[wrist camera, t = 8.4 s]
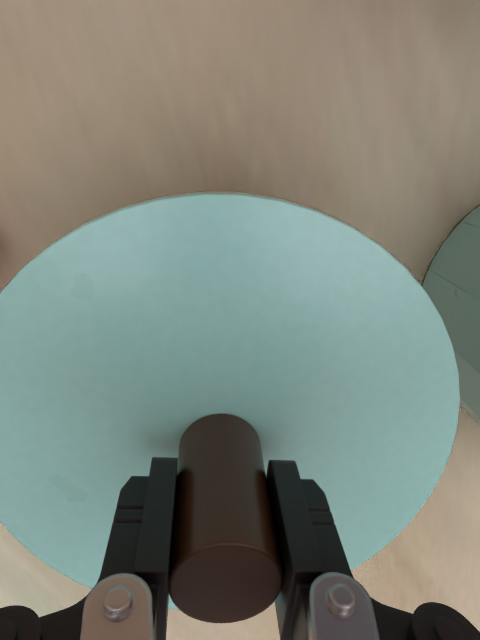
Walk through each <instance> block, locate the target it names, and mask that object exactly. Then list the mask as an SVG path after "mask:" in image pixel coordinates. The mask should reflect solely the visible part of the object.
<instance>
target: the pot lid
mask: <svg viewBox="0 0 480 640" xmlns="http://www.w3.org/2000/svg"><path fill="white" fill-rule="evenodd" d="M459 406H460V391H459V373H458V368H457V364H456V359H455V355H454V350H453V345H452V343H451V340H450V338H449V335H448V332H447V330H446V327H445V325H444V322H443V320H442V318H441V316H440V314H439V312H438V311H437V309H436V307H435V306H434V304H433V302H432V301H431V299H430V297H429V296H428V294H427V292H426V291H425V290H424V289H423V287H422V286H421V285H420V284H419V283H418V281H417V280H416V279H415V278H414V277H413V275H412V274H411V273H410V272H409V271H408V269H407V268H406V267H405V266H404V265H403V264H401V263H400V262H399V261H398V260H397V259H396V258H395V257H394V256H392V255H391V254H390V253H389V252H388V251H387V250H386V249H384V248H383V247H382V246H381V245H380V244H378V243H376V242H375V241H373V240H372V239H370V238H369V237H367V236H366V235H364V234H363V233H361V232H359V231H358V230H356V229H355V228H353V227H352V226H350V225H348V224H347V223H345V222H343V221H341V220H338V219H336V218H334V217H332V216H330V215H327V214H325V213H323V212H321V211H319V210H316V209H314V208H311V207H308V206H305V205H301V204H298V203H294V202H291V201H288V200H284V199H281V198H277V197H271V196H264V195H257V194H251V193H244V192H214V191H199V192H191V193H183V194H175V195H167V196H160V197H156V198H153V199H149V200H145V201H141V202H138V203H134V204H130V205H126V206H123V207H121V208H118V209H116V210H113V211H111V212H109V213H106V214H104V215H102V216H99V217H97V218H94V219H92V220H90V221H88V222H86V223H84V224H83V225H81V226H79V227H78V228H76V229H74V230H73V231H71V232H69V233H68V234H66V235H64V236H63V237H61V238H59V239H58V240H56V241H55V242H53V243H52V244H51V245H49V246H48V247H47V248H46V249H44V250H43V251H42V252H41V253H40V254H38V255H37V256H36V257H35V258H33V259H32V260H31V261H30V262H29V263H27V264H26V265H25V266H24V267H23V268H22V269H21V270H20V271H19V272H18V273H17V274H16V275H15V277H14V278H13V279H12V280H11V281H10V282H9V283H8V284H7V285H6V287H5V288H4V289H3V290H2V291H1V292H0V521H1V523H2V524H3V525H4V526H5V527H6V529H7V530H8V531H9V532H10V533H11V535H12V536H13V537H15V538H16V539H17V540H18V541H19V542H20V543H21V544H22V545H23V546H24V547H25V548H27V549H28V550H29V551H30V552H31V553H32V554H33V555H35V556H36V557H38V558H39V559H40V560H42V561H43V562H44V563H46V564H47V565H49V566H50V567H51V568H53V569H54V570H56V571H58V572H60V573H61V574H63V575H65V576H67V577H69V578H70V579H72V580H74V581H76V582H78V583H80V584H82V585H84V586H87V587H89V588H91V589H92V588H93V587H94V586H95V585H96V583H97V581H98V579H99V576H100V573H101V569H102V565H103V561H104V557H105V553H106V548H107V544H108V540H109V536H110V532H111V527H112V523H113V519H114V515H115V511H116V508H117V502H118V498H119V494H120V490H121V489H122V487H123V486H124V485H125V484H126V482H127V481H128V480H129V479H130V477H131V476H149V473H150V467H151V461H152V457H173V458H178V469H177V484H176V497H175V509H174V521H173V533H172V545H171V557H170V569H169V586H168V592H169V604H168V608H169V609H177V610H181V611H182V612H183V613H185V614H186V615H188V616H190V617H192V618H194V619H197V620H200V621H205V622H210V623H231V622H237V621H242V620H245V619H248V618H251V617H253V616H255V615H257V614H259V613H261V612H263V611H264V610H265V609H267V608H268V607H269V606H270V605H271V604H272V603H273V602H275V600H276V598H277V597H278V595H279V593H280V591H281V588H282V584H283V570H282V564H281V558H280V553H279V547H278V541H277V536H276V530H275V524H274V519H273V513H272V507H271V502H270V496H269V490H268V485H267V479H266V475H267V468H268V462H269V460H295V462H296V464H297V468H298V471H299V475H300V479H313V480H314V481H315V482H316V483H317V484H318V485H319V487H320V488H321V489H322V490H323V491H324V492H325V495H326V498H327V501H328V504H329V507H330V512H331V513H332V516H333V519H334V525H336V528H337V531H338V534H339V537H340V540H341V543H342V546H343V549H344V552H345V555H346V558H347V561H348V564H349V567H350V570H353V569H355V568H356V567H358V566H359V565H361V564H362V563H364V562H365V561H366V560H368V559H369V558H371V557H372V556H374V555H375V554H377V553H378V552H379V551H380V550H381V549H382V548H384V547H385V546H386V545H387V544H388V543H389V542H391V541H392V540H393V539H394V538H395V537H396V536H397V535H398V534H399V533H400V532H401V531H402V530H403V529H404V528H405V527H406V526H407V525H408V524H409V523H410V522H411V520H412V519H413V518H414V517H415V516H416V514H417V513H418V512H419V510H420V509H421V508H422V506H423V505H424V504H425V502H426V501H427V500H428V498H429V497H430V495H431V493H432V491H433V490H434V488H435V486H436V484H437V482H438V481H439V479H440V477H441V475H442V473H443V470H444V468H445V466H446V463H447V461H448V458H449V456H450V453H451V450H452V446H453V442H454V438H455V434H456V430H457V426H458V416H459Z"/></svg>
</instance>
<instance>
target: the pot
mask: <svg viewBox="0 0 480 640" xmlns="http://www.w3.org/2000/svg"><path fill="white" fill-rule="evenodd" d="M422 287H423V289H424V290H425V291H426V292H427V294H428V296H429V297H430V299H431V301H432V302H433V304H434V306H435V307H436V309H437V311H438V312H439V314H440V316H441V318H442V320H443V322H444V325H445V327H446V330H447V332H448V335H449V338H450V340H451V343H452V345H453V350H454V355H455V359H456V364H457V368H458V373H459V391H460V405H461V406H462V407H463V408H464V409H465V410H466V411H467V412H468V414H469V415H470V416H471V417H472V418H473V419H474V420H475V421H476V422H477V423H478V424H479V425H480V205H479V206H478V207H477V208H475V209H474V210H473V211H472V212H471V213H470V214H468V215H467V216H466V217H465V218H464V219H463V220H462V221H461V223H460V224H459V225H458V226H457V227H456V228H455V229H454V230H453V231H452V233H451V234H450V235H449V236H448V238H447V239H446V240H445V242H444V243H443V244H442V246H441V248H440V249H439V251H438V253H437V254H436V256H435V257H434V259H433V261H432V263H431V265H430V267H429V270H428V272H427V274H426V276H425V279H424V282H423V285H422Z"/></svg>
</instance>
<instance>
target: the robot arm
mask: <svg viewBox="0 0 480 640" xmlns="http://www.w3.org/2000/svg"><path fill="white" fill-rule="evenodd" d="M177 469H178V458H173V457H152V461H151V467H150V473H149V476H131V477H130V479H129V480H128V481H127V482H126V484H125V485H124V486H123V487H122V489H121V490H120V494H119V498H118V502H117V508H116V511H115V515H114V519H113V523H112V527H111V532H110V536H109V540H108V544H107V548H106V553H105V557H104V561H103V565H102V569H101V573H100V576H99V579H98V581H97V583H96V585H95V586H94V587H93V588H92V590H91V591H90V592H89V594H88V595H87V596H86V597H85V598H83V599H82V600H81V601H79V602H78V603H77V604H75V605H73V606H71V607H69V608H66V609H64V610H61V611H58V612H55V613H52V614H48V615H45V616H42V617H38V615H37V614H36V613H35V612H34V611H33V610H31V609H30V608H27V607H25V606H7V607H4V608H0V640H166V629H167V616H168V604H169V592H168V586H169V569H170V557H171V545H172V533H173V521H174V509H175V497H176V484H177ZM266 479H267V485H268V490H269V496H270V502H271V507H272V513H273V519H274V524H275V530H276V536H277V541H278V547H279V553H280V558H281V564H282V570H283V584H282V588H281V591H280V593H279V595H278V597H277V598H276V600H275V606H276V613H277V620H278V627H279V633H280V640H480V632H479V631H478V630H477V629H476V628H475V627H474V626H473V625H472V624H471V623H470V622H469V621H468V620H467V619H466V618H465V617H464V616H463V615H461V614H460V613H459V612H457V611H456V610H454V609H453V608H451V607H449V606H446V605H444V604H440V603H435V602H428V603H424V604H422V605H420V606H419V607H417V608H416V610H415V611H414V614H411V613H408V612H405V611H402V610H399V609H395V608H392V607H389V606H386V605H384V604H381V603H379V602H377V601H375V600H374V599H372V598H371V597H370V596H369V594H368V593H367V591H366V590H365V588H364V587H363V586H362V585H361V584H360V583H359V582H358V581H356V580H355V579H354V578H353V575H352V573H351V570H350V567H349V564H348V561H347V558H346V555H345V552H344V549H343V546H342V543H341V540H340V537H339V534H338V531H337V528H336V525H334V519H333V516H332V513H331V512H330V507H329V504H328V501H327V498H326V495H325V492H324V491H323V490H322V489H321V488H320V487H319V485H318V484H317V483H316V482H315V481H314V480H313V479H300V475H299V471H298V468H297V464H296V462H295V460H269V462H268V468H267V475H266Z"/></svg>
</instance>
